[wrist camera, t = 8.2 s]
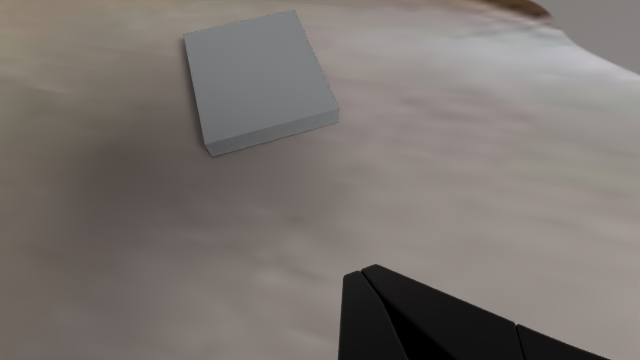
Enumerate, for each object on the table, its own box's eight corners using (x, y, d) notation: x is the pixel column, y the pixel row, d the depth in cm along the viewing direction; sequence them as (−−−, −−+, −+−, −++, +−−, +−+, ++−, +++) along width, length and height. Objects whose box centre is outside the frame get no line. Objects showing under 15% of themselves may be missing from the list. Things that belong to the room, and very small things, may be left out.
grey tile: (338, 108, 24) (294, 9, 29) (204, 144, 23) (183, 34, 28) (338, 124, 26) (296, 28, 31) (213, 159, 25) (191, 52, 30)
